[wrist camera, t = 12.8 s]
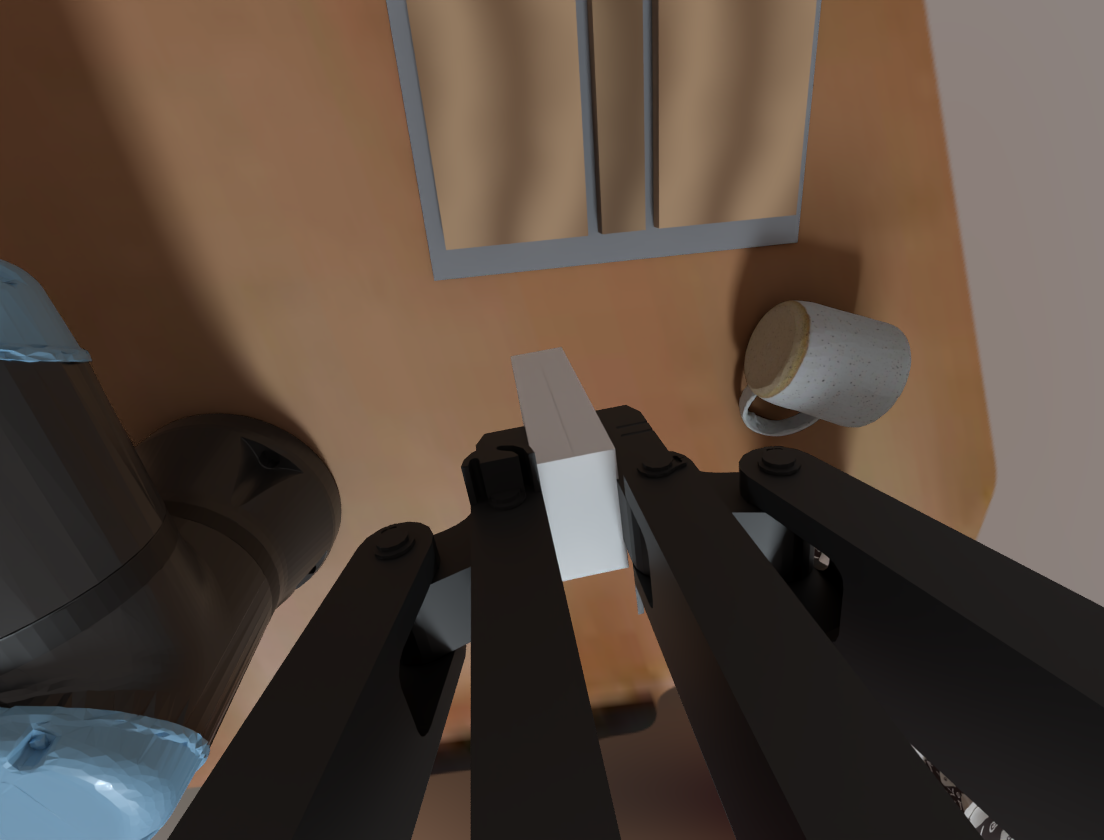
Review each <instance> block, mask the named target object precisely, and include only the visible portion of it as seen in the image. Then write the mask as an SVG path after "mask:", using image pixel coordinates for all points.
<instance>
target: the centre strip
mask: <svg viewBox="0 0 1104 840" xmlns="http://www.w3.org/2000/svg"><path fill="white" fill-rule="evenodd" d="M587 9H588V30H589V51H590V72H591V94H592V115H593V136H594V157H595V178H596V199H597V220H598V232H599V233H601V234H611V233H621V232H631V231H640V230H646V219H645V141H644V63H643V0H587Z"/></svg>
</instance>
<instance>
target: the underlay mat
mask: <svg viewBox="0 0 1104 840" xmlns="http://www.w3.org/2000/svg"><path fill="white" fill-rule="evenodd" d="M575 1H576V19H577V37H578V56H579V74H580V92H581V111H582V129H583V147H584V165H585V184H586V202H587V220H588V236H581V237H571V238H562V239H552V240H542V241H532V242H522V243H512V244H502V245H492V246H482V247H472V248H462V249H452V250H446V246H445V240H444V234H443V228H442V221H441V215H440V209H439V203H438V196H437V190H436V184H435V178H434V171H433V165H432V159H431V153H430V146H429V140H428V134H427V128H426V122H425V115H424V109H423V103H422V97H421V90H420V84H419V78H418V72H417V65H416V59H415V53H414V47H413V40H412V34H411V28H410V22H409V15H408V9H407V3H406V0H386V3H387V8H388V14H389V20H390V26H391V32H392V37H393V43H394V49H395V55H396V61H397V66H398V72H399V78H400V84H401V90H402V95H403V101H404V107H405V113H406V119H407V124H408V130H409V136H410V142H411V147H412V153H413V159H414V165H415V171H416V176H417V182H418V188H419V194H420V200H421V205H422V211H423V217H424V223H425V229H426V234H427V240H428V246H429V252H430V258H431V263H432V269H433V275H434V281H436V280H445V279H455V278H464V277H474V276H483V275H493V274H502V273H512V272H521V271H531V270H540V269H550V268H559V267H569V266H578V265H588V264H597V263H607V262H616V261H626V260H635V259H645V258H654V257H664V256H673V255H683V254H692V253H702V252H711V251H721V250H730V249H740V248H749V247H759V246H768V245H778V244H787V243H797V242H798V232H799V222H800V212H801V202H802V192H803V182H804V171H805V161H806V151H807V141H808V131H809V121H810V110H811V100H812V90H813V80H814V70H815V60H816V49H817V39H818V29H819V19H820V9H821V0H817V3H816V14H815V24H814V34H813V45H812V55H811V66H810V76H809V87H808V97H807V108H806V118H805V129H804V139H803V150H802V160H801V170H800V181H799V191H798V202H797V212H796V215H791V216H781V217H771V218H761V219H751V220H741V221H731V222H721V223H711V224H700V225H690V226H680V227H670V228H660V229H659V228H656V227H654V210H653V68H652V0H643V63H644V141H645V219H646V230H640V231H631V232H621V233H611V234H601V233H599V232H598V220H597V199H596V178H595V157H594V136H593V115H592V94H591V72H590V51H589V30H588V9H587V0H575Z"/></svg>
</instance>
